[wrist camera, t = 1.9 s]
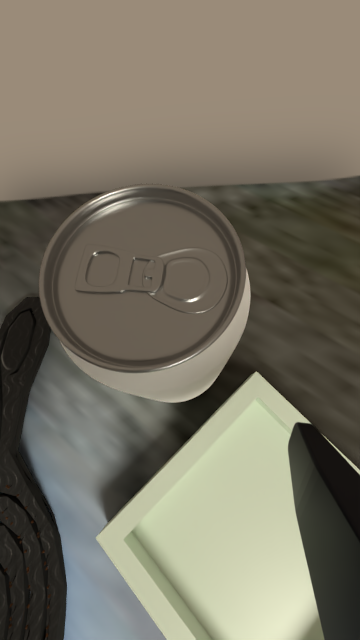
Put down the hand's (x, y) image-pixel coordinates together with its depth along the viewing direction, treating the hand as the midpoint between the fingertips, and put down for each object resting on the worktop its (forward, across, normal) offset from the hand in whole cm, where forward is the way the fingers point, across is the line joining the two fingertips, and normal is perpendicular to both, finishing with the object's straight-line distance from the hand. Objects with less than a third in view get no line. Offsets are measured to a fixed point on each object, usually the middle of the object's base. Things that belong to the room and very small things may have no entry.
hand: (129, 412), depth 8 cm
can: (+10, 0, +5) cm, 11 cm away
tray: (+3, -6, +11) cm, 13 cm away
